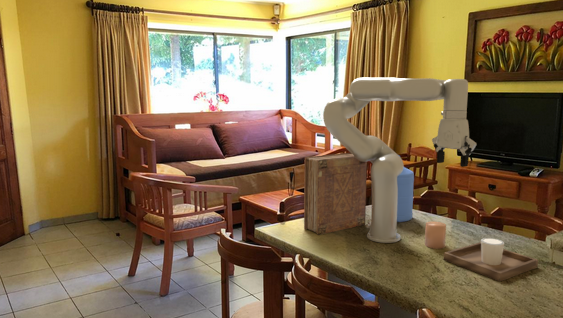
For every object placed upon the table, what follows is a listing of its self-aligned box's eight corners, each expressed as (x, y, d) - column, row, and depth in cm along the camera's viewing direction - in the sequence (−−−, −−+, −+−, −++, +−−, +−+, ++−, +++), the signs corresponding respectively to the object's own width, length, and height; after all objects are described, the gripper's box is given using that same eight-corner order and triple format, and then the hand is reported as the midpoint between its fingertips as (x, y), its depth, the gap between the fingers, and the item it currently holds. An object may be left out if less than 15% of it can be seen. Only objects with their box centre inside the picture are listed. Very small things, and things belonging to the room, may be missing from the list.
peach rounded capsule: (420, 244, 161) (421, 223, 160) (433, 240, 165) (434, 220, 163) (436, 250, 155) (437, 228, 154) (449, 246, 159) (450, 225, 157)
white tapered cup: (505, 266, 138) (507, 245, 137) (482, 265, 139) (483, 244, 138) (499, 258, 145) (500, 238, 143) (477, 257, 146) (478, 237, 145)
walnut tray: (443, 259, 146) (443, 252, 146) (480, 248, 156) (481, 241, 156) (499, 281, 129) (500, 273, 129) (537, 267, 139) (538, 259, 139)
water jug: (418, 217, 196) (421, 155, 192) (401, 224, 185) (403, 159, 181) (387, 210, 207) (389, 152, 203) (369, 217, 195) (371, 155, 191)
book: (317, 235, 172) (317, 160, 168) (303, 229, 180) (303, 157, 175) (365, 224, 185) (367, 154, 181) (351, 219, 193) (352, 152, 189)
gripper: (427, 114, 156) (424, 162, 158) (469, 116, 141) (466, 169, 144) (441, 114, 160) (438, 160, 162) (484, 116, 145) (481, 167, 147)
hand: (452, 164), depth 153 cm, fingers open, 9 cm apart
